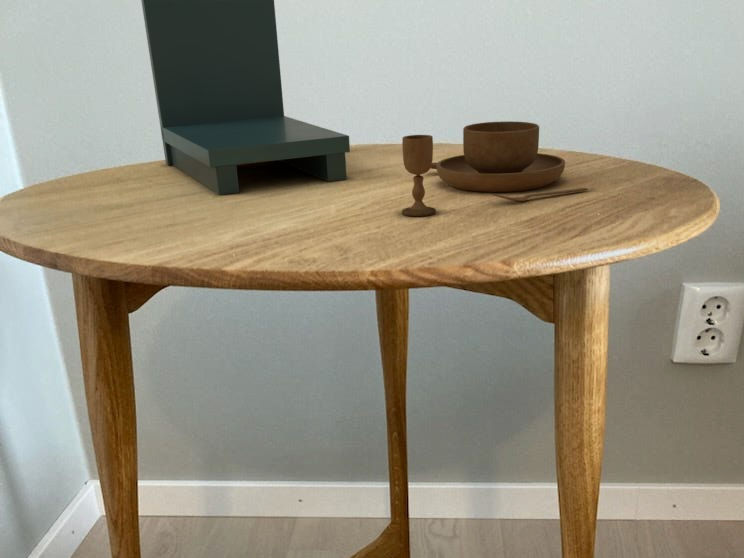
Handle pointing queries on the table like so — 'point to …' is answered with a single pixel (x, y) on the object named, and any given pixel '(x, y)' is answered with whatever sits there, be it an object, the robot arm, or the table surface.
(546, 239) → the table surface
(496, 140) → the place setting
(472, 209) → the table surface
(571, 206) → the table surface
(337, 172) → the teal chair-shaped stand
